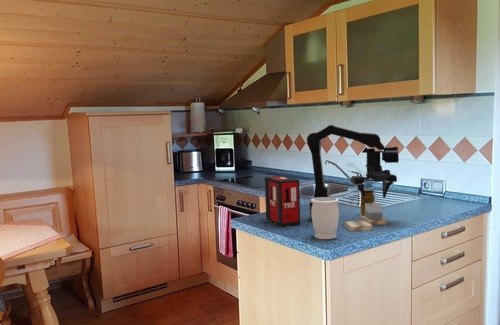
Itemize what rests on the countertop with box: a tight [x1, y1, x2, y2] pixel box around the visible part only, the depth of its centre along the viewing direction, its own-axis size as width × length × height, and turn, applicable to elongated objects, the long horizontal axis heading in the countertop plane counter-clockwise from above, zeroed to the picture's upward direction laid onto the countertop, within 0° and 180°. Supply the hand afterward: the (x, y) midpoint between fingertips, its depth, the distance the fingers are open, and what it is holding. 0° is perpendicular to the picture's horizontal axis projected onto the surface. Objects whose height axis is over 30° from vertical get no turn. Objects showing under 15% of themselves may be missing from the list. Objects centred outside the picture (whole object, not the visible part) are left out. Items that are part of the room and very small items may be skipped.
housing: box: [365, 202, 384, 220], centre depth 192 cm, size 5×7×6 cm
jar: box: [310, 196, 340, 240], centre depth 172 cm, size 11×10×15 cm
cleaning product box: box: [264, 175, 301, 228], centre depth 197 cm, size 16×9×20 cm, turn 22°
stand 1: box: [343, 220, 373, 233], centre depth 184 cm, size 9×9×2 cm
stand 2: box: [359, 215, 389, 226], centre depth 193 cm, size 9×9×2 cm
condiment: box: [358, 188, 375, 216], centre depth 206 cm, size 7×8×12 cm
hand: (373, 198), depth 192 cm, fingers open, 9 cm apart
